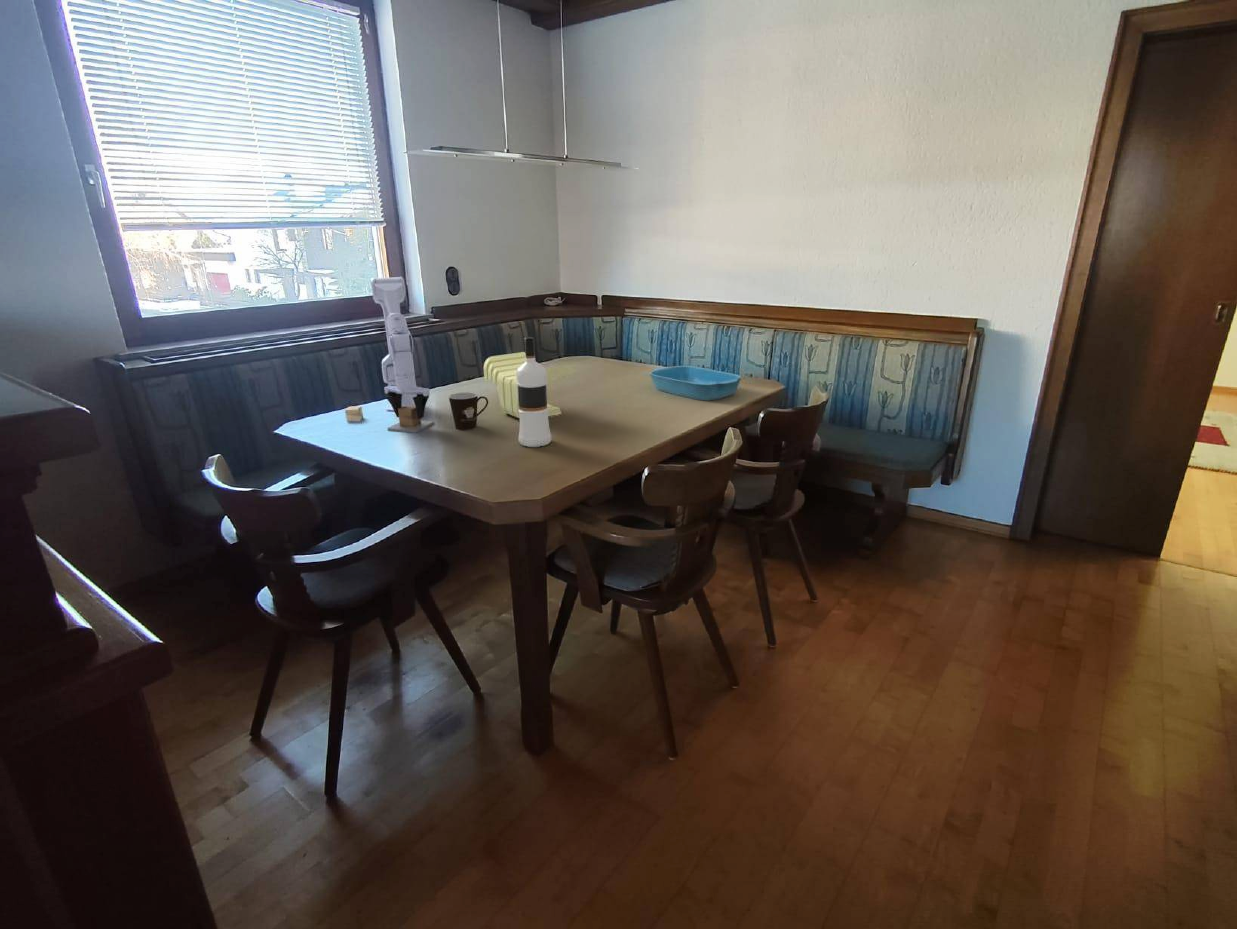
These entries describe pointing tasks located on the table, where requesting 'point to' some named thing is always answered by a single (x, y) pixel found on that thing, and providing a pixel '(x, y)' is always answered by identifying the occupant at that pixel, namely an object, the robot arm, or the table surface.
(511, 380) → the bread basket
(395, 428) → the slate coaster
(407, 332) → the robot arm
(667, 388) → the casserole dish
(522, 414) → the vodka
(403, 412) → the walnut block
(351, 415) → the maple block
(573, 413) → the table surface
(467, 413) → the coffee mug
